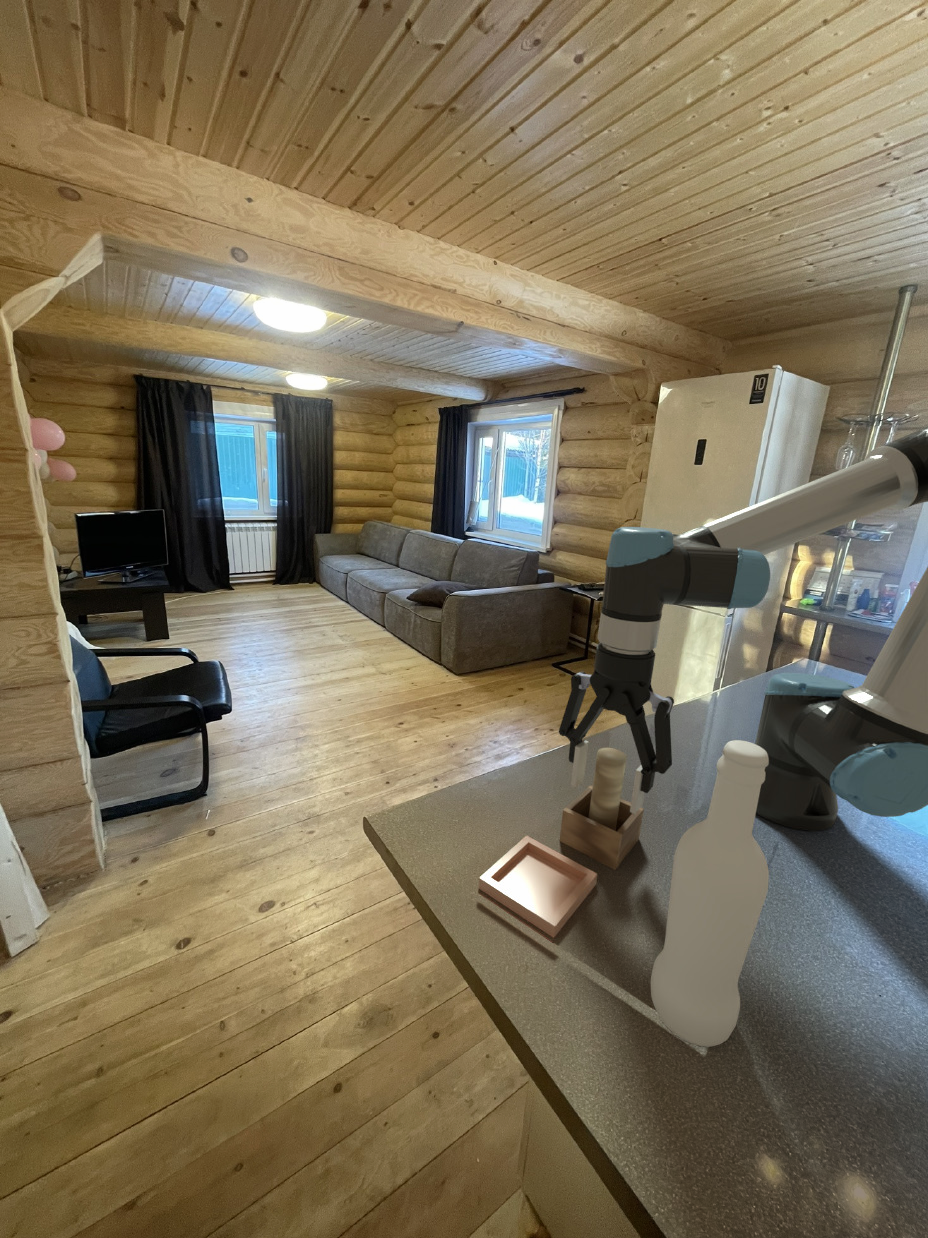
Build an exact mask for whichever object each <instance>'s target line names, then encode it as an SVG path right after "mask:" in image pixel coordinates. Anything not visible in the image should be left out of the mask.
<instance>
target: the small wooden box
mask: <svg viewBox="0 0 928 1238" xmlns="http://www.w3.org/2000/svg"><path fill="white" fill-rule="evenodd" d="M592 788H593V785H589V786H587V788H585V789H584V790H583V791H582V792H581V793H580V794H579V795H578V796H576V797H575V798H574V799H573V800H572V801H571V802H570V803H569V804H568V805H567V806H566V807H565V808H564V809H562V816H561V827H560V833H559V834H560V835H559V842H560V843H562V844H564V845H566V846H569V847H571V848H572V849H574V850H576V851H578V852H579V853H581V854H583V855H585V856H587V857H588V858H591V859H593V860H595V861H596V862H599V863H601V864H602V865H604V866H606V867H608V868H611V870H614V871H616V870H617V869H618V867H619V866H620V865H621V863H622V862H623V861H624V859H625V858H626V857H627V855H628V854H629V853H630V852H631V850H632V849H633V848H634V846H635V845H636V844H637V842H638V841H639V839H640V834H641V829H642V824H643V823H642V822H643V816H644V811H645V809H644V808H643V807H641V808H640V809H639V810H638V811H637V813H636V814H633V813H631V812H630V807H631V801H628V800H625V799H623V798H622V797H621V798H620V805H619V811H618V818H617V824H616V831H614V830H612V829H610V828H608V827H606V826H603V825H601V824H599V823H597V822H595V821H593V820H591V819H589V818H588V817H589V810H590V803H591V795H592Z"/></svg>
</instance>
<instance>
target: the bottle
mask: <svg viewBox="0 0 928 1238" xmlns="http://www.w3.org/2000/svg"><path fill="white" fill-rule="evenodd" d="M721 753H722V756H720V758H719V759H717V762H716V771H717V774H716V777H715V781H714V782H715V783H714V786H713V790H712V795H711V798H710V799H711V800H710V803H709V807H708V811H707V812H708V813H707V816H706V819H704V820H701V821H699V822H697V823H695V824H694V825H692V826H691V827H689V828H688V829H687V830H686V831H685V832H684V833H683V834H682V836H681V837H680V838H679V840H678V844H677V846H676V849H675V851H674V856H673V862H672V872H671V882H670V891H669V892H670V893H669V899H668V901H669V902H668V908H667V909H668V911H667V918H666V920H667V921H666V928H665V936H664V937H665V939H664V943H663V944H664V945H663V948H662V950H661V952H659V954H658V955H657V956H656V958H655V960H654V962H653V966H652V971H651V977H650V997H651V1000H652V1003H653V1006H654V1009H655V1012H656V1014H657V1015H658V1017H659V1019H660V1020H661V1022H662V1023H663V1024H664V1026H666V1027H667V1029H669V1031H671V1032H672V1033H673V1034H675V1035H676V1036H677V1037H678V1038H680V1039H681V1040H683V1041H685V1042H687V1043H688V1044H692V1045H695V1046H698V1047H705V1048H707V1047H708V1048H709V1047H710V1048H711V1047H715V1046H719V1045H722V1044H723V1043H724V1042H726V1041H728V1039H729V1037H730V1036H731V1034H732V1033H733V1031H734V1029H735V1028H736V1026H737V1022H738V1019H739V1015H740V1008H741V997H740V992H739V985H738V983H739V979H740V976H741V973H742V969H743V966H744V963H745V961H746V959H747V955H748V952H749V948H750V946H751V942H752V940H753V936H754V933H755V931H756V928H757V925H758V922H759V919H760V916H761V913H762V909H763V907H764V904H765V900H766V899H767V894H768V890H769V883H770V881H769V880H770V875H769V874H770V871H769V867H768V861H767V859H766V856H765V854H764V851H762V848H761V846H760V845H759V843H758V841H757V840H756V839H755V838H754V836H753V830H754V823H755V819H756V815H757V814H756V809H757V804H758V799H759V793H760V788H761V784H762V783H763V782H764V781H765V767H767V766H768V764H769V759H768V754H767V752H766V751H765V750H764V749H763V748H761V747H760V746H758V745H756V744H755V743H754V742H750V741H746V740H740V739H737V740H736V739H735V740H731V741H730V740H729V741H728V742H727V743H726V744H725V745H724V747H723V749H722V751H721Z"/></svg>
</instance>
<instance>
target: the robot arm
mask: <svg viewBox="0 0 928 1238" xmlns="http://www.w3.org/2000/svg"><path fill="white" fill-rule="evenodd" d="M922 503H928V426H925V427H923V428H920V429H919V430H916V431H913V432H911V433H909V434H906V435H903V436H902V437H900V438H897V439H895V440H893V441H890V442H888V443H885V444H882V445H880V446H878V447H875V448H874V449H871V451H869V452H868V454H867V455H866V456H865V458H864V460H862V461H860V462H857V463H855V464H852V465H849V466H847V467H844V468H842V469H839V470H837V471H835V472H832V473H830V474H827V475H825V476H822V477H820V478H817V479H814V480H812V481H810V482H806V483H805V484H803V485H800V486H798V487H795V488H792V489H790V490H788V491H785V492H783V493H780V494H778V495H775V496H773V497H770V498H768V499H765V500H763V501H760V502H757V503H755V504H753V505H749V506H748V507H745V508H743V509H741V510H737V511H735V512H733V513H730V514H727V515H725V516H724V517H721V518H717V519H716V520H713V521H711V522H708V523H706V524H703V525H701V526H699V527H696V528H693V529H690V530H688V531H685V532H682V533H681V534H680V533H679V534H674V533H672V532H671V530H669V529H664V528H663V529H662V528H653V527H642V526H641V527H640V526H622V527H619V528H618V527H617V528H616V529H615V530H614V531H613V533H612V534H611V537H610V543H609V545H608V546H609V547H608V553H607V558H606V560H605V575H604V586H603V596H602V605H601V611H600V617H599V618H600V619H599V625H598V631H597V633H598V634H597V640H598V641H599V642H598V644H597V645H596V650H595V655H594V656H595V657H594V658H595V659H594V666H593V668H594V671H593V673H592V674H589V673H588V674H587V673H586V672H585V671H584V670H583V671H579V672H578V673H575V674H574V675H572V676H571V677H570V686H571V687H570V689H571V691H570V694H569V696H568V700H567V703H566V707H565V709H564V710H565V711H564V712H563V717H562V719H561V722H560V726H559V728H558V734H559V735H560V736H562V737H565V738H567V739H568V740H569V750H568V751H569V753H568V761H569V762H570V763H571V764H572V773H571V780H570V787H573V788H577V787H578V786H579V785H580V784H581V783H583V782H584V781H585V773H586V767H587V758H588V749H589V741H588V740H586V739H584V738H586V736H587V733H589V731H590V729H591V728H593V727H592V726H593V725H594V724H595V723H596V721H597V719H598V718H599V716H600V715H601V714H602V712H603V711H604V710H607V711H611V712H612V711H613V712H616V713H618V715H622V716H625V720H626V722H627V724H628V725H629V727H630V731H631V734H632V737H633V741H634V744H635V747H636V751H637V755H638V758H639V762H640V765H639V766H638V767H637V768H636V769H635V775H634V781H633V789H632V795H631V800H630V803H631V807H630V812H631V813H633V814H636V813H637V811H638V810H639V809H640V808H643V804H644V797H645V794H648V793H649V792H650V791H651V790H652V788H653V787H654V781H655V776H656V773H659V774H661V775H663V774H665V773H666V772H667V771H668V770H669V769H670V768H671V766H672V764H673V753H672V734H671V733H672V732H671V711H672V709H673V706H674V704H675V699H674V698H673V697H672V696H669V695H668V696H666V697H664V696H662V695H659V694H658V693H655V692H654V690H653V688H652V679H653V675H654V674H653V672H654V666H655V665H654V664H655V660H656V652H655V650H654V649H655V648H657V645H658V637H659V634H660V633H659V631H660V627H661V619H662V614H663V609H664V605H671V606H689V607H690V606H691V607H694V606H695V607H703V608H704V607H705V608H720V609H722V608H724V609H726V610H732V609H750V608H751V609H752V608H755V607H756V606H758V605H759V604H760V603H761V602H762V601H763V600H764V599H765V597H766V595H767V593H768V591H769V586H770V581H771V567H770V564H769V561H768V559H767V557H766V556H765V555H768V554H770V553H773V552H776V551H778V550H780V549H783V548H786V547H788V546H791V545H794V544H797V543H799V542H801V541H804V540H807V539H810V538H812V537H814V536H817V535H820V534H822V533H826V532H828V531H830V530H833V529H835V528H838V527H840V526H843V525H846V524H849V523H851V522H853V521H856V520H859V519H861V518H864V517H867V516H869V515H871V514H874V513H878V512H879V511H882V510H884V509H887V510H890V511H901V510H904V509H908V508H909V507H912V506H914V505H920V504H922ZM590 686H591V688H592V690H593V692H594V694H595V696H596V697H595V699H594V700H593V701H592V703H591V704H590V707H589V709H587V712H586V713H585V715H584V716H583V717H582V718H581V720H580V721H579V723H578V725H577V726H576V723H577V720H578V716H579V714H580V711H581V707H582V704H583V701H584V699H585V695H586V692H587V689H588V688H589V687H590ZM648 702H650V704H651V710H652V712H653V713H655V714H654V719H653V725H654V743H655V747H654V745H653V741H652V738H651V734H650V731H649V728H648V724H647V721H646V712H645V708H644V706H645V705H646V703H648ZM575 727H576V728H575ZM755 737H756V738H755V742H754V744H756V745H758V746H760V747H761V748H763V749H764V750H765V751H766V752H767V754H768V759H769V764H768V766H767V767H765V781H764V782H763V783H762V784H761V788H760V793H759V799H758V804H757V809H756V814H755V815H758V816H760V817H762V818H764V819H766V820H767V821H771V822H773V823H776V824H778V825H781V826H784V827H787V828H792V829H796V830H801V831H802V830H803V831H823V830H824V831H825V830H829V829H830V828H832V826H834V825H835V823H836V820H837V817H838V811H839V804H838V798H837V796H838V797H839V798H840V799H842V800H845V801H846V802H847V803H849V804H850V805H851V806H853V807H854V808H856V809H857V810H859V811H860V812H863V813H865V814H868V815H870V816H876V817H882V818H883V817H884V818H890V817H891V818H894V817H895V818H896V817H901V816H904V815H906V814H909V813H916V812H917V811H919V810H922V809H923V808H925V807H927V806H928V566H927V567H926V569H925V571H924V572H923V575H922V576H921V578H920V580H919V582H918V583H917V585H916V586H915V589H914V590H913V592H912V594H911V596H910V598H909V600H908V601H907V603H906V605H905V606H904V609H903V610H902V612H901V613H900V616H899V618H898V619H897V621H896V623H895V625H894V626H893V628H892V630H891V632H890V633H889V636H888V638H887V639H886V641H885V643H884V645H883V647H882V649H881V650H880V652H879V654H878V655H877V658H876V659H875V661H874V663H873V665H872V666H871V668H870V670H869V672H868V673H867V675H866V677H865V679H864V680H863V683H862V684H861V685H859V686H858V687H854V685H853V684H851V683H849V682H847V681H844V680H840V679H837V678H832V677H829V676H822V675H817V674H813V673H812V674H810V673H809V674H808V673H802V672H800V673H799V672H781V673H777V674H774V675H772V676H771V677H770V679H769V681H768V683H767V687H766V689H765V692H764V700H763V705H762V709H761V713H760V719H759V723H758V727H757V732H756V736H755Z"/></svg>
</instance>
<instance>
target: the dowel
mask: <svg viewBox="0 0 928 1238" xmlns="http://www.w3.org/2000/svg"><path fill="white" fill-rule="evenodd" d="M627 759H628V757H627V754H626V753H625V752H623V751H621V750H619V749H617V748H613V747H602V748H599V749H598V750H597V753H596V760H595V767H594V768H595V769H594V775H593V780H592V781H593V782H592V786H593V788H592V795H591V803H590V810H589V817H588V818H589V819H591V820H593V821H595V822H597V823H599V824H601V825H603V826H606V827H608V828H610V829H612V830H614V831H616V824H617V818H618V811H619V805H620V798H621V799H622V792H623V785H624V780H625V779H624V778H625V772H626V771H625V770H626V765H627Z"/></svg>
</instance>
